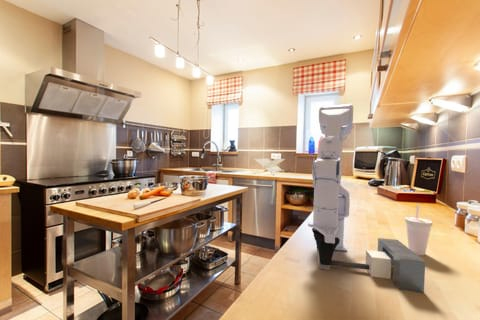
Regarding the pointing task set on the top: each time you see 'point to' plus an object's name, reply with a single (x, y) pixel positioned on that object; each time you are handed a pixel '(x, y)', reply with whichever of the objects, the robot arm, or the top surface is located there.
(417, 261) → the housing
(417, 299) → the top surface
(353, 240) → the top surface
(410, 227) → the smoothie
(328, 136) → the robot arm
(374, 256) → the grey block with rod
